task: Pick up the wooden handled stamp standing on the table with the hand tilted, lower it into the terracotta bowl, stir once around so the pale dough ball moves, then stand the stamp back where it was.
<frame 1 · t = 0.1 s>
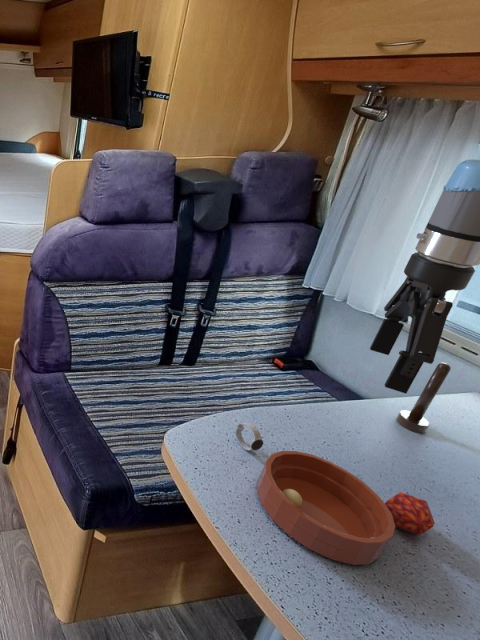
hand: (386, 369, 82), 22 cm above the table, tool pointing down, fingers open, 13 cm apart
dough ball: (291, 498, 79), point 2 cm above the table, touching bowl
decorative stone: (401, 525, 79), on the table
bowl: (314, 515, 79), on the table
wooden handled stamp: (410, 424, 103), on the table
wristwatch: (244, 446, 93), on the table
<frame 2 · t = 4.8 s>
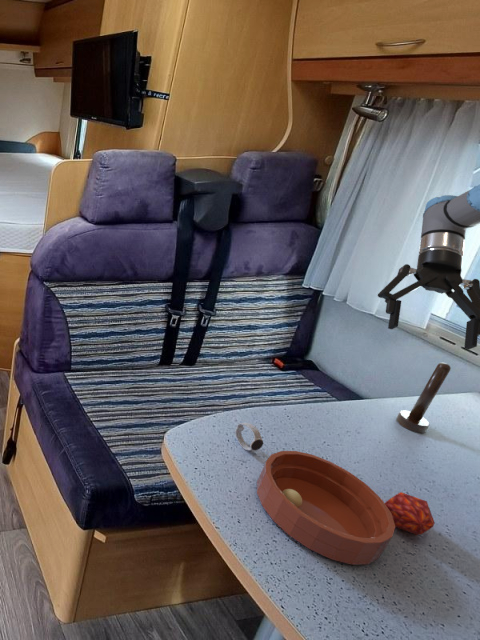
hand: (430, 337, 105), 18 cm above the table, tool tilted 45°, fingers open, 13 cm apart
nothing on the table moved.
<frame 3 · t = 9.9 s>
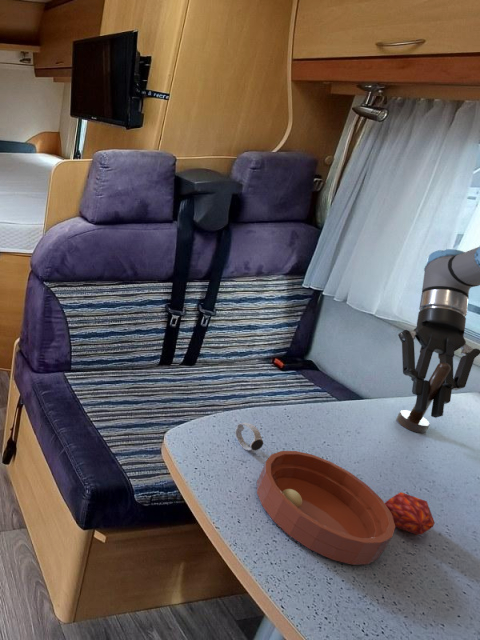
hand: (428, 413, 97), 6 cm above the table, tool tilted 45°, fingers closed on wooden handled stamp, 2 cm apart
wooden handled stamp: (410, 424, 103), on the table, touching gripper
everything else where it was.
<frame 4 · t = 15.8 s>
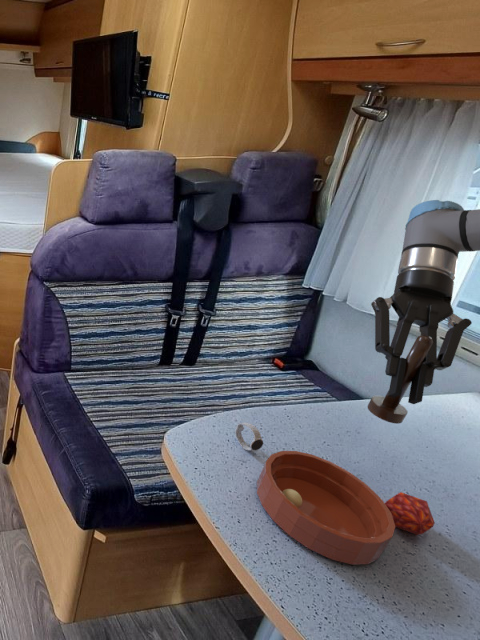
hand: (404, 398, 78), 20 cm above the table, tool tilted 45°, fingers closed on wooden handled stamp, 2 cm apart
wooden handled stamp: (384, 413, 83), point 14 cm above the table, touching gripper
everything else where it was.
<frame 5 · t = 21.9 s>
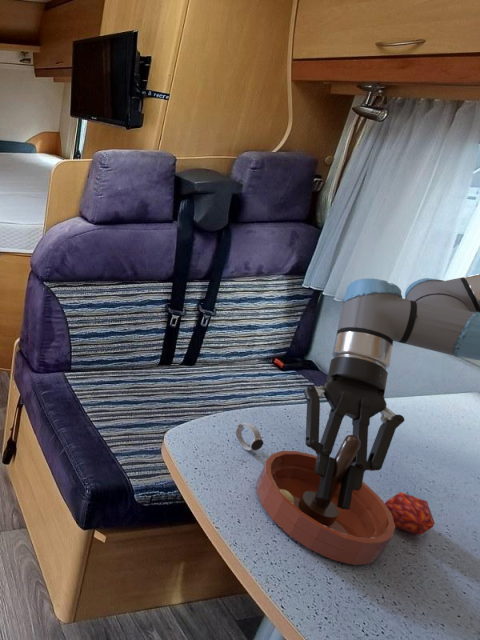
hand: (332, 503, 72), 8 cm above the table, tool tilted 45°, fingers closed on wooden handled stamp, 2 cm apart
dough ball: (283, 499, 79), point 2 cm above the table, tilted 57°, touching bowl
wooden handled stamp: (315, 512, 78), point 1 cm above the table, touching gripper
everything else where it was.
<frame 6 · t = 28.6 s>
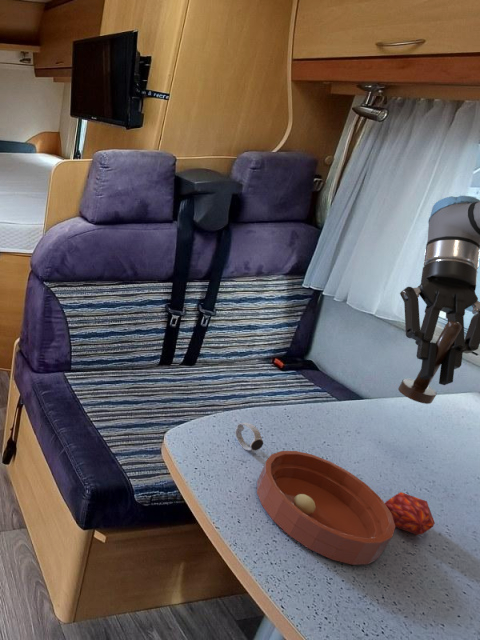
hand: (436, 379, 84), 20 cm above the table, tool tilted 45°, fingers closed on wooden handled stamp, 2 cm apart
dough ball: (304, 504, 78), point 2 cm above the table, tilted 69°, touching bowl
wooden handled stamp: (414, 395, 90), point 14 cm above the table, touching gripper
everything else where it was.
when the fingers open (6 cm above the table, at t = 34.5 s): wooden handled stamp stays where it is, on the table.
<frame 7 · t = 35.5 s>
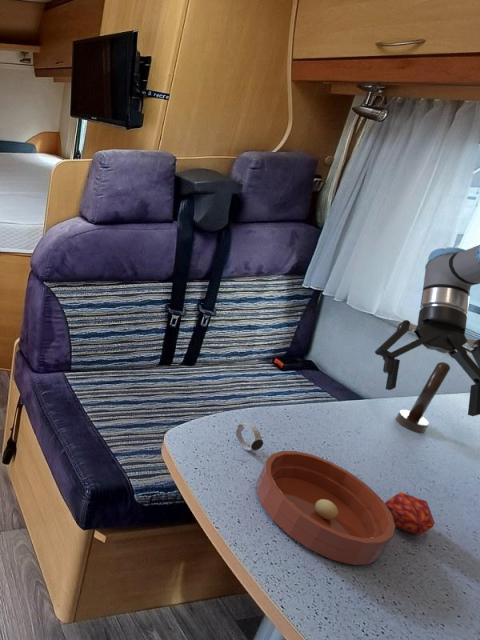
hand: (430, 401, 98), 8 cm above the table, tool tilted 45°, fingers open, 13 cm apart
dough ball: (326, 509, 78), point 2 cm above the table, tilted 157°, touching bowl
wooden handled stamp: (410, 424, 103), on the table
everything else where it was.
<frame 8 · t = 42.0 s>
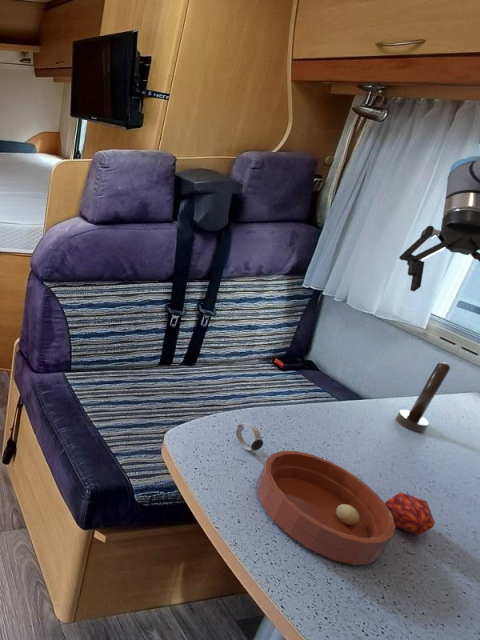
hand: (455, 298, 101), 28 cm above the table, tool tilted 45°, fingers open, 13 cm apart
dough ball: (347, 514, 77), point 2 cm above the table, tilted 45°, touching bowl
everything else where it was.
at the end: dough ball moved 8.4 cm from its start; dough ball inside the target area in the bowl (4.2 cm from its centre), point 2.1 cm above the bowl's base; wooden handled stamp inside the target area (0.2 cm from its centre), on the table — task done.
